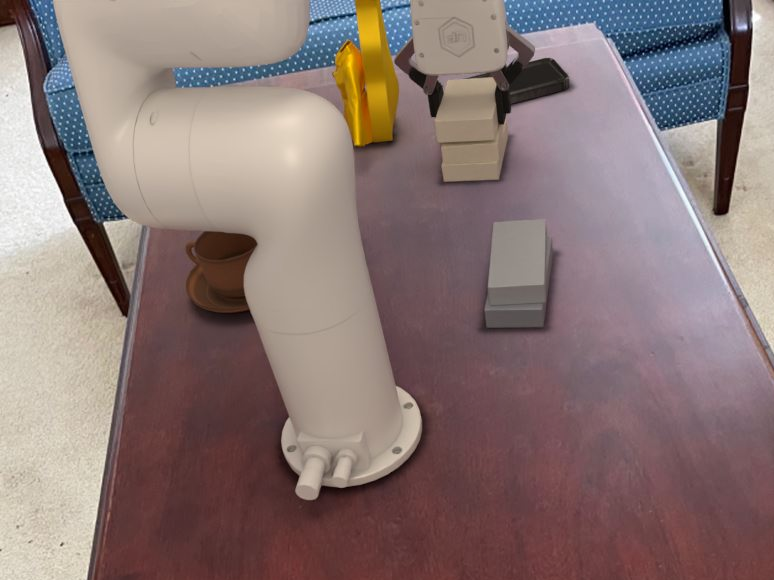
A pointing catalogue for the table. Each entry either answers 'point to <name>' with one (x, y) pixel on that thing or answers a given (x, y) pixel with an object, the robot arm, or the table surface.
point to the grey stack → (518, 274)
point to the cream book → (467, 111)
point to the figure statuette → (368, 78)
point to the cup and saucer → (219, 271)
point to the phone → (536, 80)
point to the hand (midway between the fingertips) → (471, 119)
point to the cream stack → (474, 158)
